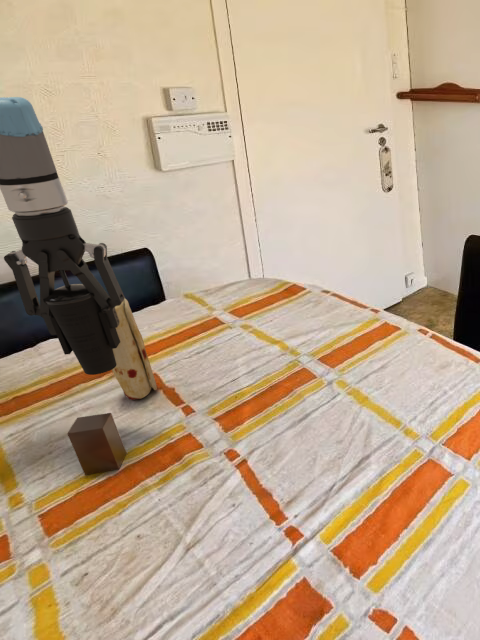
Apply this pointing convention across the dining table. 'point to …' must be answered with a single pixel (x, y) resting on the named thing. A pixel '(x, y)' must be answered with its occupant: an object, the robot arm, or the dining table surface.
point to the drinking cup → (82, 326)
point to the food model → (131, 357)
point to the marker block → (97, 443)
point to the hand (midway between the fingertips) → (93, 347)
